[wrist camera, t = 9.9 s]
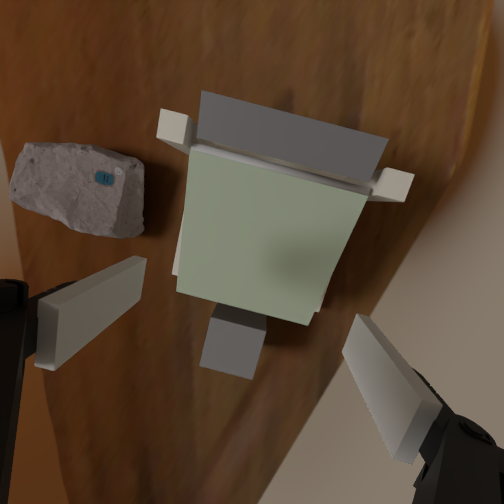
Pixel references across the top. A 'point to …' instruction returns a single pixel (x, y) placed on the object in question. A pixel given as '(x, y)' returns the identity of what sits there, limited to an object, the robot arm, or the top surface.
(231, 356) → the basalt block
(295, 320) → the trapdoor
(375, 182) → the stand
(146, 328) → the top surface
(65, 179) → the stone
